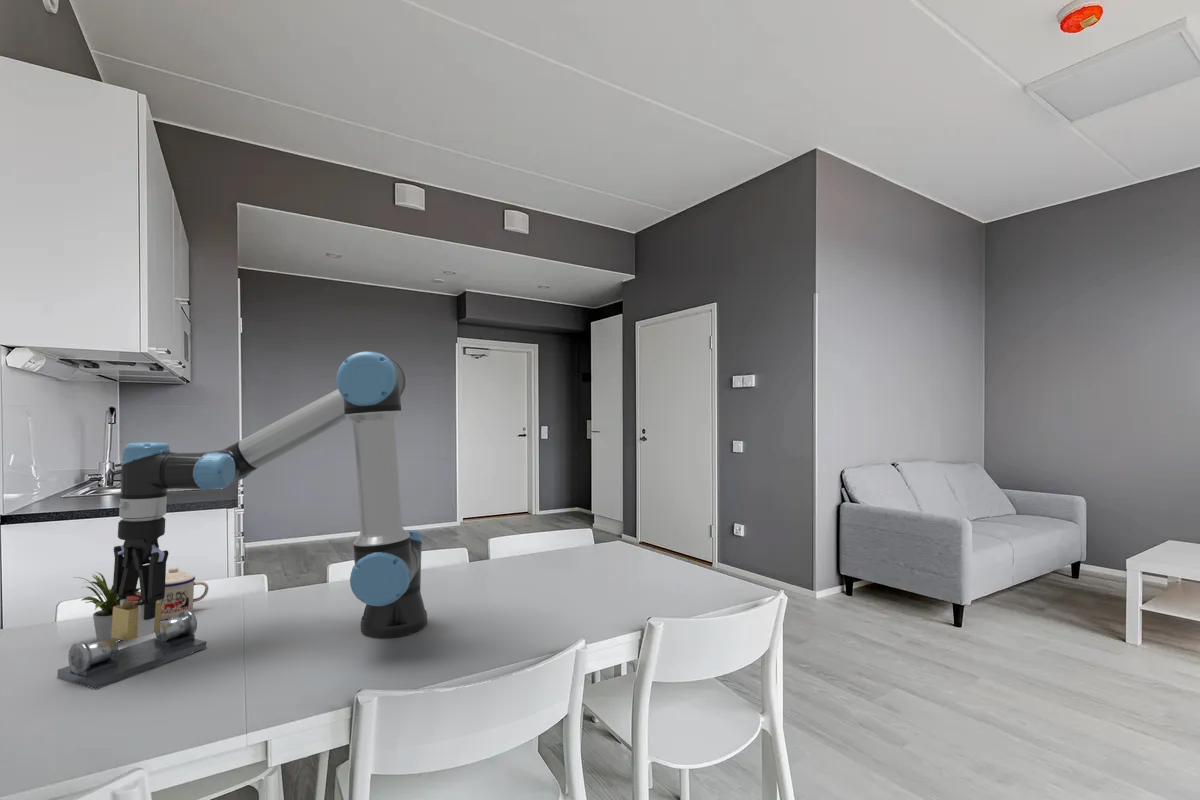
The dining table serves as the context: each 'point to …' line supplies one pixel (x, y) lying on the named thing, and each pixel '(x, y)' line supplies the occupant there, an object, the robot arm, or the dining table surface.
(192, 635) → the pipe run
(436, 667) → the dining table surface
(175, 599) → the teacup with lid
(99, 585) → the house plant
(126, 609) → the brass valve
